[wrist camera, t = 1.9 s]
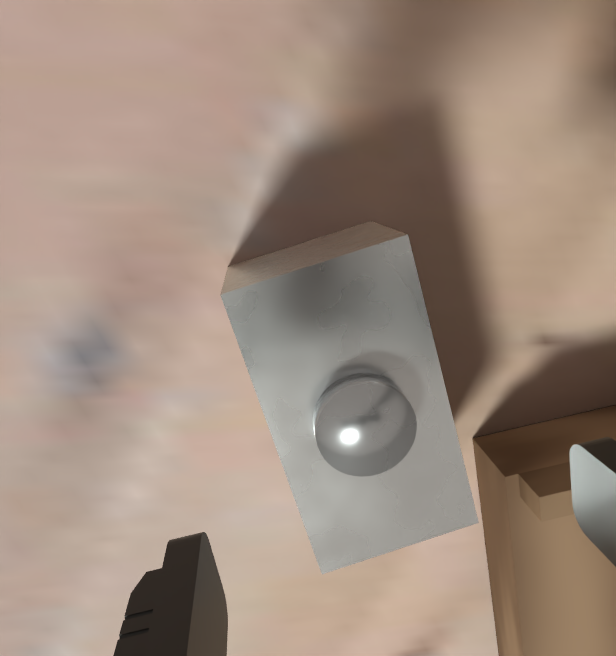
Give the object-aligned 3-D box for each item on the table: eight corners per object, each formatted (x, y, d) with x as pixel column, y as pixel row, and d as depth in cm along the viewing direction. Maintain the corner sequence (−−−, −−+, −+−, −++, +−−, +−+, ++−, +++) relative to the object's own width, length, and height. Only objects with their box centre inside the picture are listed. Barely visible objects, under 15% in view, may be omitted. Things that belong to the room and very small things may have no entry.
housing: (369, 220, 20) (416, 237, 14) (430, 449, 23) (488, 538, 17) (228, 265, 20) (218, 301, 14) (307, 489, 22) (325, 591, 17)
